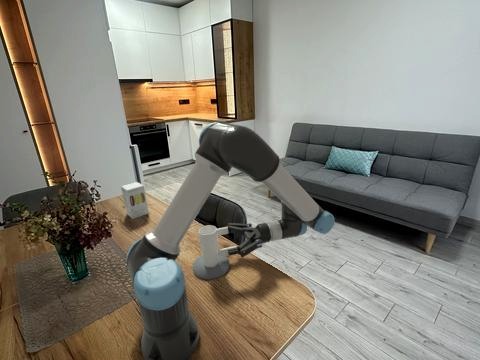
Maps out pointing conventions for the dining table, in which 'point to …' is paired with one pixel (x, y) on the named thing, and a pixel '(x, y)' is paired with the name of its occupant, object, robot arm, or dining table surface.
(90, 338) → the dining table surface
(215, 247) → the drinking glass
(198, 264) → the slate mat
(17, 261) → the dining table surface
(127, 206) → the supplement box
